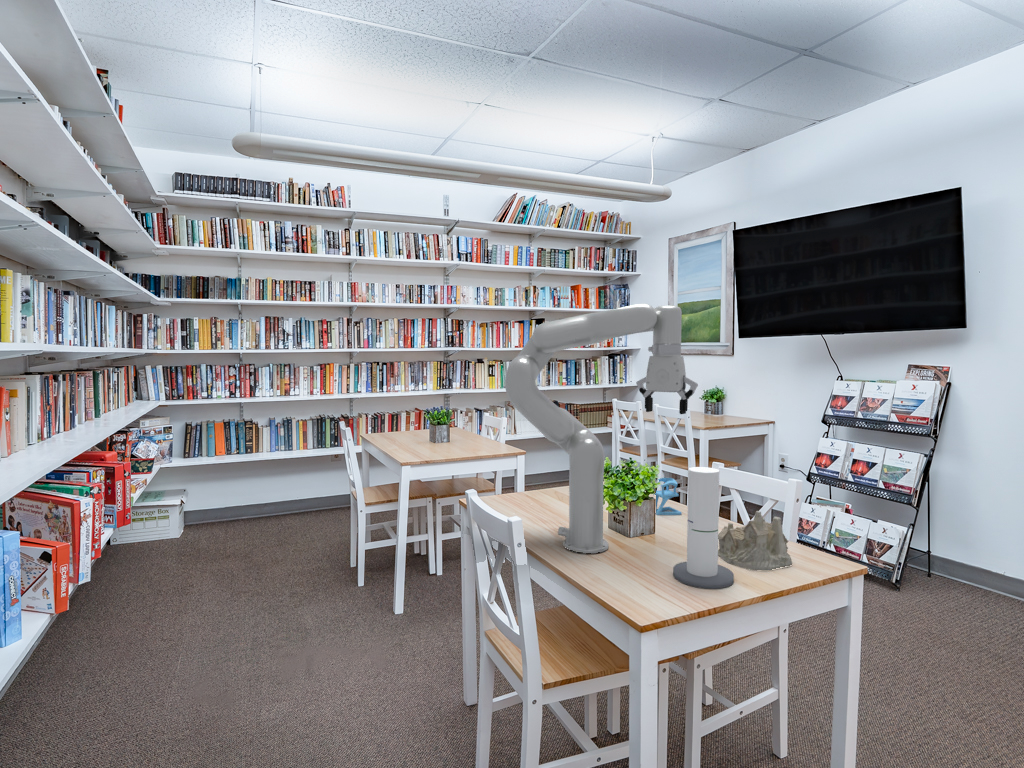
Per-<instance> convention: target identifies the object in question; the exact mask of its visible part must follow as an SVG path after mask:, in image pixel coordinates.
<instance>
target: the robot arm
mask: <svg viewBox="0 0 1024 768" xmlns="http://www.w3.org/2000/svg"><path fill="white" fill-rule="evenodd" d="M682 315H683V313H682V308H681V307H679V306H677V305H659V306H658V305H657V306H656V307H653V306H652V305H650V304H648V303H637V304H632V305H627V306H622V307H617V308H614V309H608V310H603V311H596V312H589V313H585V314H580V315H575V316H569V317H565V318H562V319H561V318H560V319H555V320H552V321H547V322H542V323H541V324H538V325H536V327H535V328H534V330H533V332H532V335H531V336H530V337H529V339H528V340H527V342H526V343H525V345H524V346H523V347H522V348H521V350H520V351H519V353H518V354H517V355H516V357H515V358H512V360H511V361H510V362H509V364H508V367H507V369H506V372H505V379H504V388H505V393H506V396H507V398H508V400H509V401H510V403H511V405H512V406H513V407H514V408H515V410H517V411H518V412H519V413H520V415H522V416H523V417H524V418H525V419H526V420H527V421H528V422H529V423H530V424H532V426H533V427H534V428H536V429H537V430H538V431H539V432H540V433H541V434H542V435H543V437H545V438H546V440H548V441H549V442H552V443H554V444H556V445H557V446H558V447H560V448H561V450H563V451H564V452H565V453H566V454H568V455H569V467H568V468H569V469H568V470H569V473H568V475H569V479H568V481H569V482H568V483H569V484H568V489H569V491H568V492H569V493H568V494H569V495H568V497H569V498H568V499H569V500H568V503H569V505H568V507H569V508H568V512H569V513H568V514H569V515H568V518H569V519H568V527H563V526H559V527H558V529H557V535H558V536H562V537H565V539H564V540H563V547H564V546H565V547H566V548H568V549H570V550H573V551H577V552H583V553H582V554H586V553H591V554H598V552H600V553H603V552H606V551H607V550H608V549H609V542H608V541H607V540H606V539H604V474H605V473H604V472H605V462H606V461H605V457H606V456H605V449H604V447H603V444H602V442H601V441H600V439H599V438H598V436H596V435H595V434H594V433H593V431H591V430H589V429H588V427H586V426H585V425H584V424H583V423H582V422H581V421H580V420H579V419H577V418H576V417H575V416H574V415H573V414H572V413H570V412H569V411H568V409H567V410H566V409H565V408H563V407H559V406H558V405H557V404H556V403H554V401H552V400H551V399H550V398H549V397H548V396H547V395H546V394H545V393H543V392H542V391H541V389H539V388H538V385H537V383H536V380H537V378H538V377H539V375H540V374H541V372H542V371H543V369H544V368H545V367H546V365H547V364H548V363H549V361H550V360H551V358H552V357H553V356H554V354H555V352H560V351H565V350H568V349H574V348H579V347H584V346H589V345H594V344H598V343H601V342H604V341H607V340H611V339H615V338H620V337H625V336H629V335H634V334H640V333H641V334H642V333H648V332H652V334H653V335H652V345H651V346H649V347H648V349H647V350H648V352H651V354H652V355H649V358H648V362H647V363H648V364H647V368H646V376H645V377H642V378H641V379H639V380H636V386H637V388H638V391H639V392H640V394H642V397H643V398H644V409H645V412H646V413H649V412H653V410H654V409H653V405H654V403H653V401H654V397H652V395H653V394H654V393H655V392H656V393H677V394H678V396H679V397H680V398H681V399H679V411H678V413H679V415H684V414H687V412H688V408H689V407H688V406H689V405H688V402H689V399H690V398H691V396H693V394H694V393H695V391H696V389H697V388H698V386H699V384H698V383H697V382H695V381H693V380H692V379H690V378H689V377H687V375H686V374H687V373H686V364H685V359H684V356H683V355H682V322H683V321H682V319H683V318H682ZM644 384H645V386H644ZM687 385H688V386H690V387H689V390H688V391H686V387H687ZM565 547H564V548H565ZM566 548H565V549H566ZM568 549H567V550H568ZM570 550H569V551H570ZM573 551H572V552H573ZM577 552H576V553H577Z"/></svg>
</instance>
